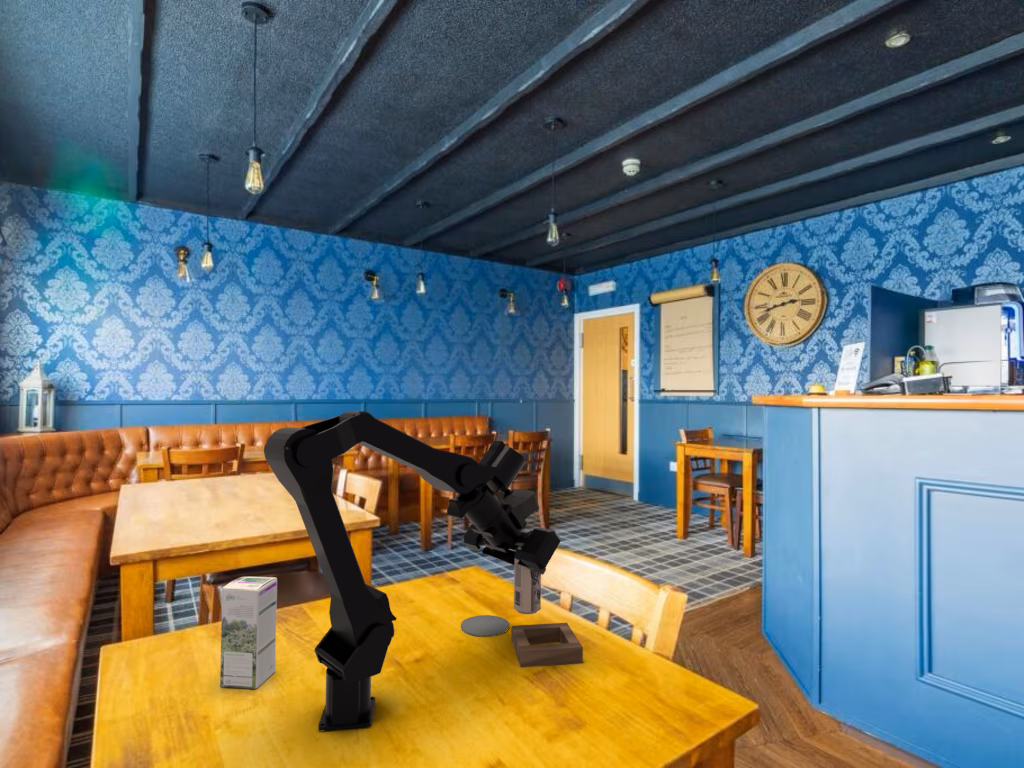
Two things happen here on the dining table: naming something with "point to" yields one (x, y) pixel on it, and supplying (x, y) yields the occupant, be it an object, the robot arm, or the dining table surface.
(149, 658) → the dining table surface
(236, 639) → the syrup box
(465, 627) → the coaster
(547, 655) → the socket block
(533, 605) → the beer can
